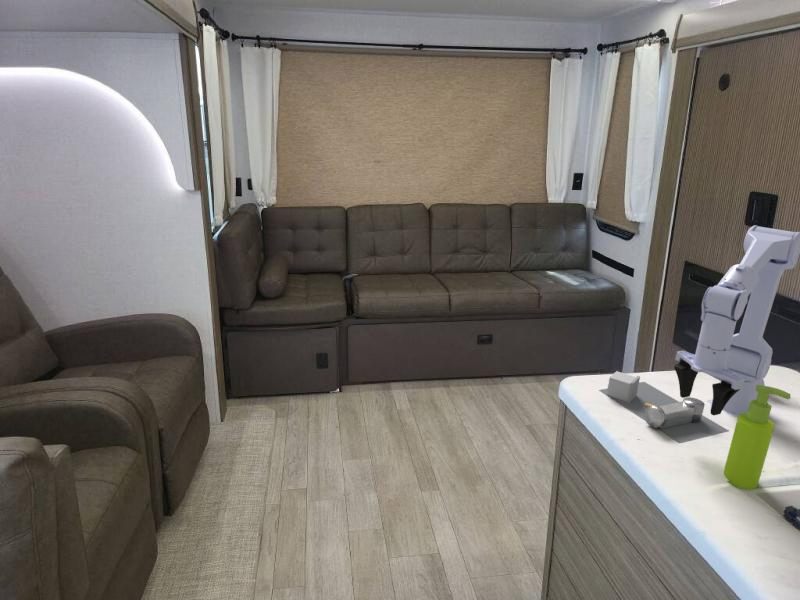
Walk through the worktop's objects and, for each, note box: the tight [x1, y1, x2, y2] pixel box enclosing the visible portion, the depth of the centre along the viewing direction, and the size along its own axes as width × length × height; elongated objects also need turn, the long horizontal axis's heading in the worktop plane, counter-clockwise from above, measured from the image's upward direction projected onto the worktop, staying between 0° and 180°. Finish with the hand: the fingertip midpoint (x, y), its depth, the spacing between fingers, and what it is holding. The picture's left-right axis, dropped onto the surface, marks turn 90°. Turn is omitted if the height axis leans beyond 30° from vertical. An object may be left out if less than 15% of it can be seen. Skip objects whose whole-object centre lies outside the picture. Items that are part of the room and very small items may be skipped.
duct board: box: [598, 370, 730, 444], centre depth 133 cm, size 15×25×6 cm, turn 23°
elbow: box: [644, 396, 705, 429], centre depth 128 cm, size 14×5×5 cm, turn 113°
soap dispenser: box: [723, 385, 791, 491], centre depth 106 cm, size 6×7×20 cm
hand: (699, 405), depth 118 cm, fingers open, 7 cm apart
